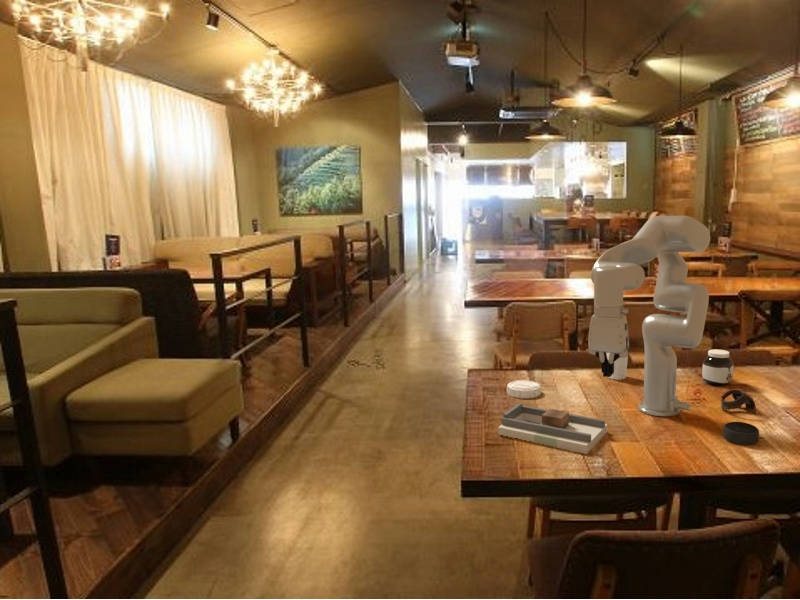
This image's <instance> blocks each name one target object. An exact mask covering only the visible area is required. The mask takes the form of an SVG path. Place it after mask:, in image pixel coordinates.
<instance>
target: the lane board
mask: <svg viewBox="0 0 800 600" xmlns="http://www.w3.org/2000/svg"><path fill="white" fill-rule="evenodd" d="M547 410H548V409H544V408H539V407H534V406H529V405H523V403H517V404H515V405H513V407H511V408H509V410H507V411H505V412H504V413H503V415H502V416H503V417H501V424H500V425H499V426H498V427H497V429H498V430H497V432H498V436H501V435H503V436H502V437H506V436H508V437H507V438H510V437H513V438H512V439H515V438H518V439H517V440H519V439H522V440H521V441H524V440H527V441H526V442H529V441H532V442H531V443H533V442H536V443H535V444H538V443H540V444H539V445H542V444H544V445H543V446H547V445H548V447H552V446H553V447H552V448H556V447H557V449H562V450H565V451H566V450H567V451H571V452H575V453H579V452H580V454H585V455H588V453H589V452H591V450H592V449H593V448H594V447H595V446H596V445H597V444H598V443H599V442H600V441H601V439H602V438H604V436H605V435H606V434H607V433H608V423H606V420H605V419H602V418H595V417H589V416H584V415H578V414H573V413H569V425H568V426H567V427H566V428H565V429H562V428H556V427H551V426H546V425H542V414H544V413H545V412H546V411H547ZM529 421H530V422H529ZM596 443H597V444H596Z"/></svg>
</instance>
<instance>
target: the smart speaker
mask: <svg viewBox="0 0 800 600" xmlns="http://www.w3.org/2000/svg"><path fill="white" fill-rule="evenodd" d="M722 429H723V430H722V436H723V438H724V439H725V440H726V441H728V442H730V443H733V444H735V445H736V444H737V445H744V446H746V445H748V446H750V445H754V444H757V443H758V442H759V440H760V430H759V428H758V427H756V425H754V424H751V423H747V422H742V421H731V422H726V423H725V424H724V425H723V427H722Z"/></svg>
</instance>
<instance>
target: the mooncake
mask: <svg viewBox="0 0 800 600" xmlns="http://www.w3.org/2000/svg"><path fill="white" fill-rule="evenodd" d="M506 392H507V395H508V396H509V395H510V396H509V397H512V398H516V399H534V398H538V397H539V395H540V396H541V394H542V386H541V384H540V383H538V382H536V381H533V380H525V379H520V380H517V379H516V380H514V381H511V382H509V383H508V384H507V385H506ZM537 396H538V397H537Z"/></svg>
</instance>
